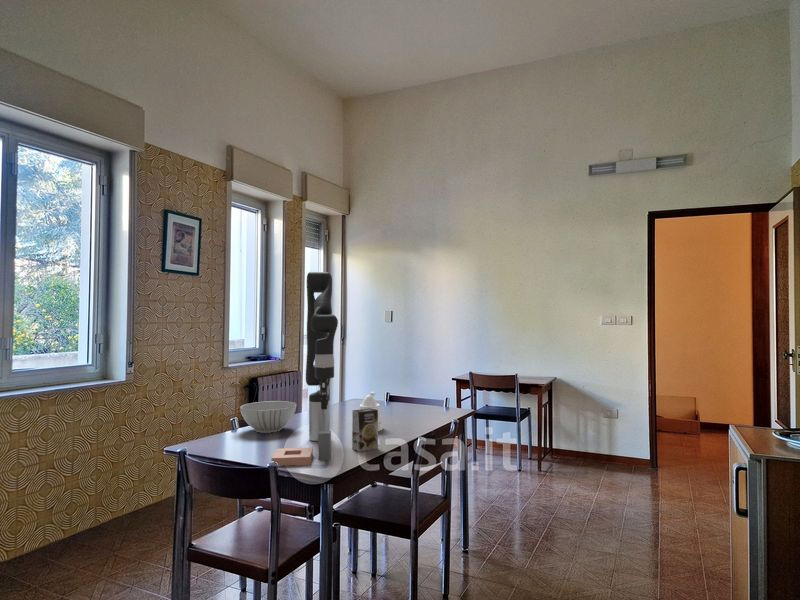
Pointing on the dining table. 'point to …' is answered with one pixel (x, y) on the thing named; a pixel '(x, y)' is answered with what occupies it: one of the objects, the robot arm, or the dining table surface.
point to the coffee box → (364, 429)
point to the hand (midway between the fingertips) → (324, 407)
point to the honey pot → (372, 407)
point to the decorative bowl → (268, 415)
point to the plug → (324, 445)
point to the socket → (293, 456)
